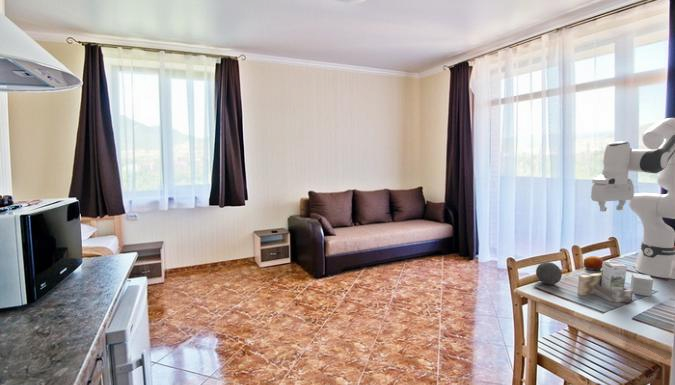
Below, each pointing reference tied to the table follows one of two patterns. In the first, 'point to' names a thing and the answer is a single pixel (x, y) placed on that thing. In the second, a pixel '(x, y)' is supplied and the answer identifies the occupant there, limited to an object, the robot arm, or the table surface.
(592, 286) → the wooden table
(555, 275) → the decorative ball
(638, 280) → the product box
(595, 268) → the fruit
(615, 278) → the syrup box
